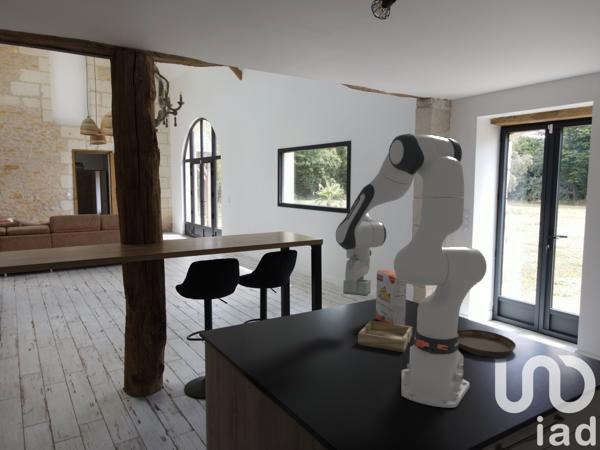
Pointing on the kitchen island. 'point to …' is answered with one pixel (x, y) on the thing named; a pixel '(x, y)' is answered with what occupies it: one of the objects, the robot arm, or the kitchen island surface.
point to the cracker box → (390, 298)
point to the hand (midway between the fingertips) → (357, 288)
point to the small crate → (362, 287)
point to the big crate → (385, 336)
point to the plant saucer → (485, 343)
